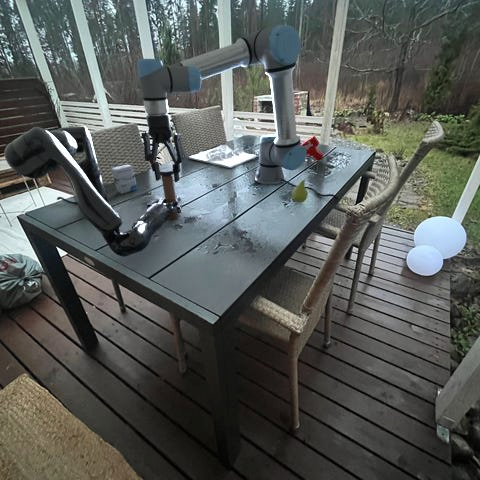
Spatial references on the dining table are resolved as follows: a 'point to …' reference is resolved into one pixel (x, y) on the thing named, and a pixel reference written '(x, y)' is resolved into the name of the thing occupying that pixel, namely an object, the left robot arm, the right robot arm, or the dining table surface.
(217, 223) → the dining table surface
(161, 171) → the lid
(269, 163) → the right robot arm
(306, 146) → the toy gun
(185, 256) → the dining table surface
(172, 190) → the jar
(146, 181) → the dining table surface
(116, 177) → the ink box
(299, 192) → the fruit
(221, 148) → the relief map
